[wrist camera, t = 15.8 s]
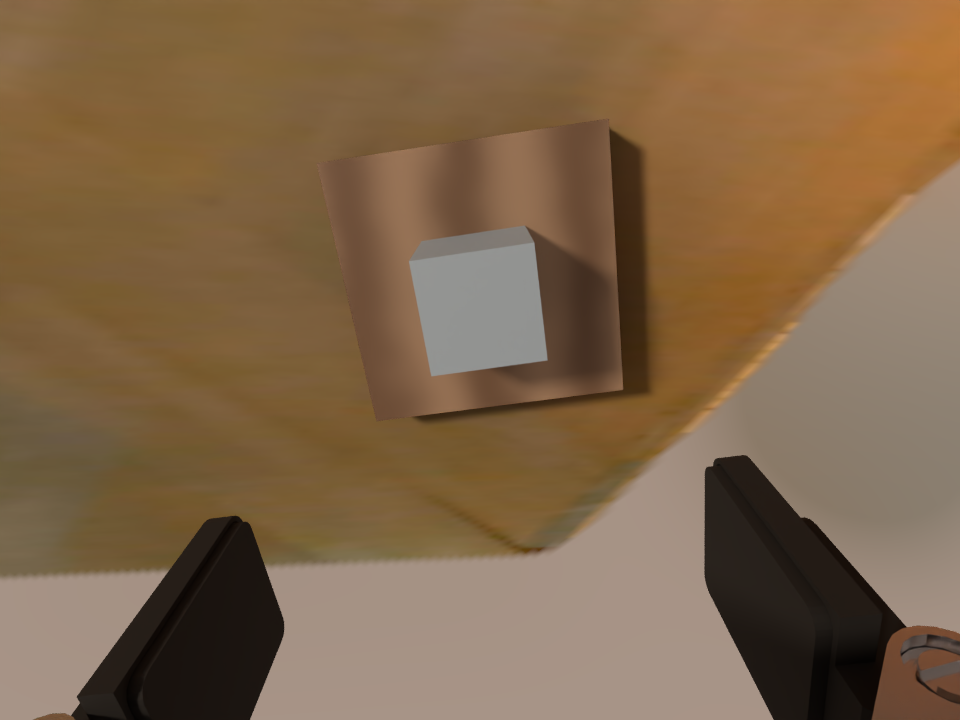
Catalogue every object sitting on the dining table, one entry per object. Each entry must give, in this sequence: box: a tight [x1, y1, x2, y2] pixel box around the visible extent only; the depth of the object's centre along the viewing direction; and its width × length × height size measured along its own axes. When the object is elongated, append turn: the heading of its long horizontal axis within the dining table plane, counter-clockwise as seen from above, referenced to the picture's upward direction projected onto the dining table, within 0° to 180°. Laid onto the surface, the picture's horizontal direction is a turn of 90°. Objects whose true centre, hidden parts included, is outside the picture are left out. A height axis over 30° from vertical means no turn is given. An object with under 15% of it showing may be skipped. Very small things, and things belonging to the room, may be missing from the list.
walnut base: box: [317, 119, 623, 421], centre depth 34 cm, size 16×16×3 cm
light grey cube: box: [409, 226, 548, 376], centre depth 30 cm, size 6×6×6 cm
